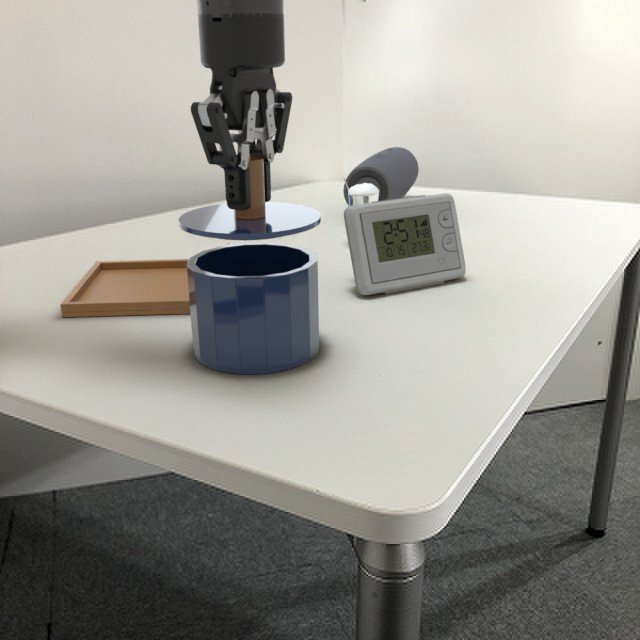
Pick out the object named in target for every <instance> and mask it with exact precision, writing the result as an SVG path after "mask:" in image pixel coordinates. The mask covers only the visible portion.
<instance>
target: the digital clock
mask: <svg viewBox="0 0 640 640" xmlns="http://www.w3.org/2000/svg"><path fill="white" fill-rule="evenodd" d="M343 220H344V227H345V233H346V239H347V244H348V249H349V255H350V260H351V266H352V272H353V278H354V283H355V288H356V290H357V293H358V294H360V295H362V296H369V295H370V296H371V295H377V294H381V293H382V294H383V295H388V294H393V293H399V292H405V291H410V290H416V289H420V288H426V287H431V286H437V285H441V284H445V281H451V280H455V279H460V278H463V277H464V276H465V275H466V271H467V268H466V261H465V260H466V259H465V254H464V248H463V242H462V235H461V232H460V226H459V219H458V214H457V208H456V204H455V198H454V197H453V195H452V194H450V193H437V194H430V195H425V194H423V195H421V194H420V195H414V196H406V197H403V198H398V199H390V200H382V201H374V202H371V203H367V204H359V205H352V206H347V207H346V208H345V209H344V211H343Z"/></svg>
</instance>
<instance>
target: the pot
mask: <svg viewBox="0 0 640 640" xmlns="http://www.w3.org/2000/svg"><path fill="white" fill-rule="evenodd" d="M188 259H189V261H188V263H187V276H188V288H189V301H190V313H191V314H190V322H191V336H192V349H193V353H194V357H195V359H196V360H197V361H198V362H199V363H200V364H201V365H203V366H205V367H207V368H209V369H211V370H213V371H216V372H217V371H218V372H222V373H225V374H227V373H228V374H235V375H266V374H267V375H268V374H273V373H280V372H284V371H288V370H292V369H295V368H297V367H301V366H303V365H305V364H306V363H308V362H311V360H313V359H314V358H315V357H316V356H317V354H318V352H319V349H320V320H319V319H320V317H319V270H318V269H319V268H318V267H319V266H318V263H319V262H318V255H317V253H316V252H313V251H312V250H311V249H308V248H306V247H302V246H298V245H293V244H288V243H275V242H247V243H246V242H244V243H235V244H229V245H220V246H216V247H213V248H208V249H205V250H202V251H200V252H198V253H195V254H194V255H192V256H190V257H189V258H188Z"/></svg>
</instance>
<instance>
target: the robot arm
mask: <svg viewBox="0 0 640 640" xmlns="http://www.w3.org/2000/svg"><path fill="white" fill-rule="evenodd" d="M196 2H197V3H196V5H197V6H196V7H197V22H198V23H197V24H198V37H199V53H200V55H199V57H200V64H201V65H202V66H203V67H204V68H206V69H210V71H211V82H210V86H209V95H208V97H206V99H204V100H203V101H193V102H192V103H191V105H190V113H191V116H192V119H193V123H194V125H195V128H196V131H197V133H198V136H199V140H200V143H201V146H202V148H203V152H204V154H205V158H206V160H207V163H208V164H209V165H216V166H218V167H220V168H221V169H223V173H224V189H225V201H226V203H227V206H228V207H229V208H230V209H234V210H246V209H249V208H250V206H251V199H250V175H249V170H247V167H248V162H249V156H257V157H262V158H263V159H264V182H265V202H271V199H272V179H271V178H272V177H271V176H272V175H271V163H273V162H274V160H275V156H276V154H282V153H283V150H284V147H285V142H286V137H287V131H288V125H289V120H290V115H291V109H292V103H293V94H292V92H290V91H280V90H279V89H277V82H276V78H275V75H274V69H275V68H280V67H282V66H284V64H285V63H286V50H285V49H286V47H285V45H286V42H285V40H286V39H285V9H284V8H285V5H284V0H196ZM230 131H238V133H231V132H230ZM273 138H274V139H273ZM234 143H236V144H237V151H236V149H235V145H234ZM216 144H217V145H219V150H218V148H217V145H216Z"/></svg>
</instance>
